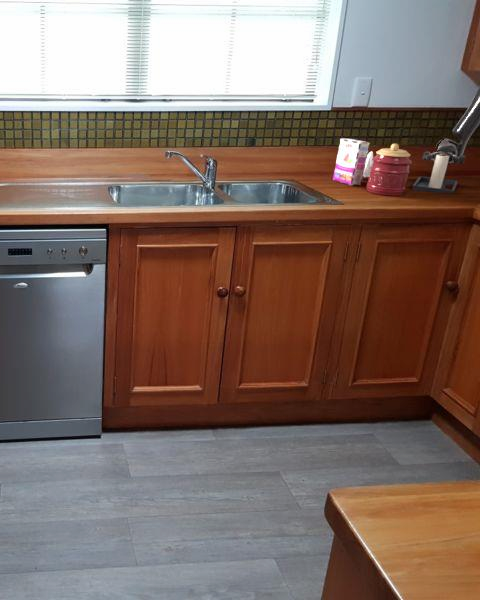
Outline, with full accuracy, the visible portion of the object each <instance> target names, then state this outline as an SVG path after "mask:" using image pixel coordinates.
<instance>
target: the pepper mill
mask: <svg viewBox="0 0 480 600" xmlns="http://www.w3.org/2000/svg"><path fill="white" fill-rule="evenodd" d="M449 157H450V156H447V155H446V153H444V152H443V153H441V154H440V155H436V159H435V162H434V163H433V167H432V171H431V175H430V177H429V178H430V182H429V187H431V188H441V187H442V183H443V179H444V180H445V176H446V173H447V168H448V165H447V164H448V161H449Z"/></svg>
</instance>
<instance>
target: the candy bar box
mask: <svg viewBox="0 0 480 600" xmlns="http://www.w3.org/2000/svg"><path fill="white" fill-rule="evenodd" d="M370 145H371V142H368V141H364V140H359V139H354V138H340V140H339V146H338V150H337V156H336V161H335V166H334V171H333V175H332V181H335V182H337V183H341V184H344V185H346V186H347V185H348V186H352V187H354V186H355V187H356V186H362V183H363V179H362V178H363V173H364V168H365V164H366V159H367V155H368V154H369V150H370Z"/></svg>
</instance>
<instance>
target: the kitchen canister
mask: <svg viewBox="0 0 480 600" xmlns="http://www.w3.org/2000/svg"><path fill="white" fill-rule="evenodd" d="M375 153H376V155H375V156H373V158H372V160H373V165H372V166H371V167H370V168H371V170H370V174H369V177H368V178H367V179H368V180H367V183H366V189H365V190H366V191H367V192H369V193H371V194H375V195H381V196H389V197H390V196H391V197H395V196H403V195H404V193H405V191H406V185H407V181H408V178H409V177H408V176H409V173H410V170H409V169H410V165H411V164H412V160H410V157H411V154H410V153H409V152H408V150H405V149H400V145H399V144H398V143H392V144H391V145H390V148H385V147H384V148H380V149H379V150H377V151H376V152H375Z"/></svg>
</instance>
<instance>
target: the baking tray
mask: <svg viewBox="0 0 480 600" xmlns="http://www.w3.org/2000/svg"><path fill="white" fill-rule="evenodd" d="M430 178H431V177H428V176H419V177H418V178H417V179H416V181H415V182H414V183H413V184H412V186H411V190H412V191H420V192H427V193H434V194H435V193H436V194H450V195H453V194H454V193H455V190H456V188H457V186H458V183H459V180H452V179H445V178H444V179H443V183H442V187H441V188H431V187H429V182H430ZM447 185H451V186H452V188H451V189H446V186H447Z"/></svg>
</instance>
